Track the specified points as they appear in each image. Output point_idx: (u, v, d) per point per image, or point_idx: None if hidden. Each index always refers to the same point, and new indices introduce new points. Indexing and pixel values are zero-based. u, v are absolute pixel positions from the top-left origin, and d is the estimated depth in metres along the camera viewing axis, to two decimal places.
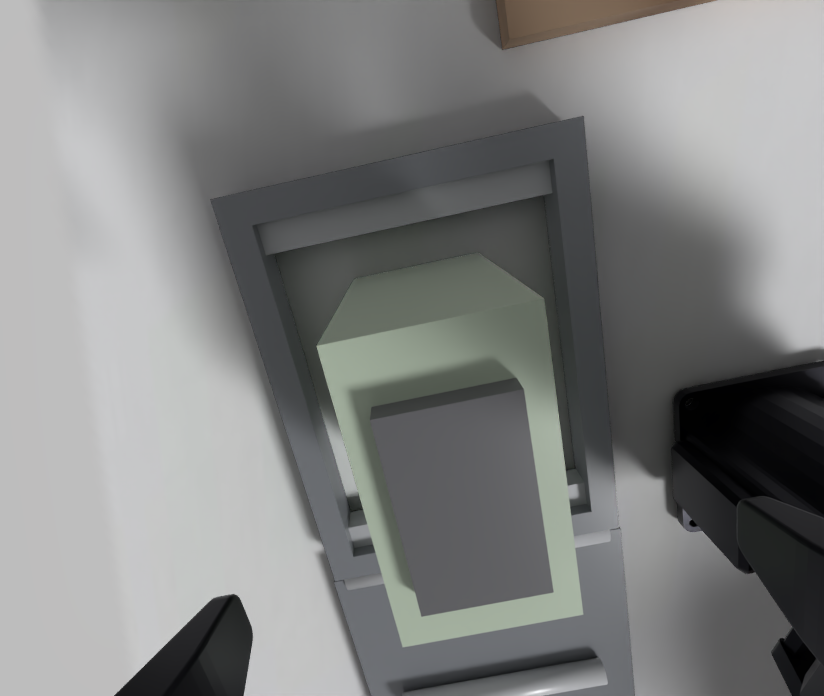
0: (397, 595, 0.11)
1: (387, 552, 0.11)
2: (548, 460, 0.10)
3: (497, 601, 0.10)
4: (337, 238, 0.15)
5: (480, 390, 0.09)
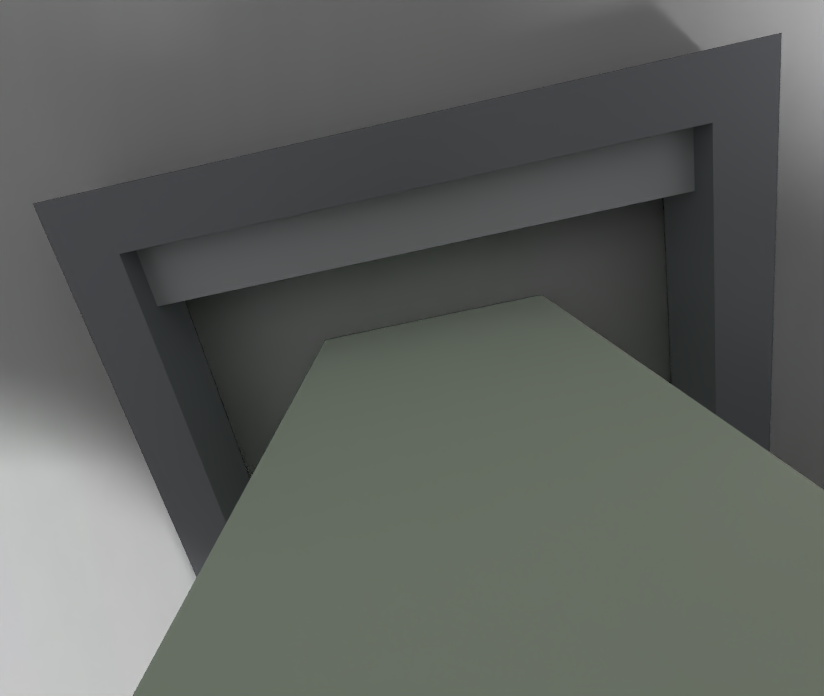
0: None
1: None
2: None
3: None
4: (289, 275, 0.08)
5: None
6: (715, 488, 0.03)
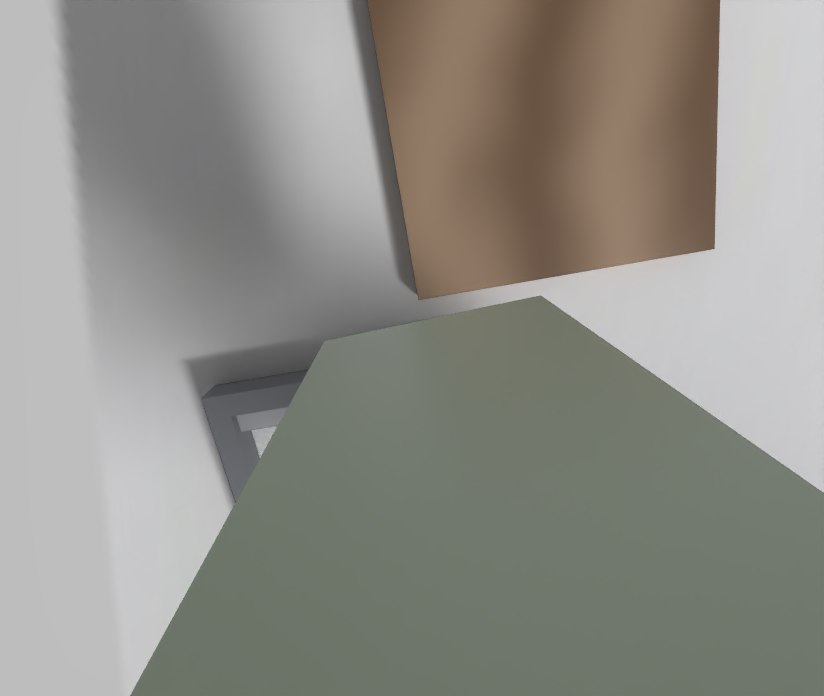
0: None
1: None
2: None
3: None
4: None
5: None
6: (712, 489, 0.03)
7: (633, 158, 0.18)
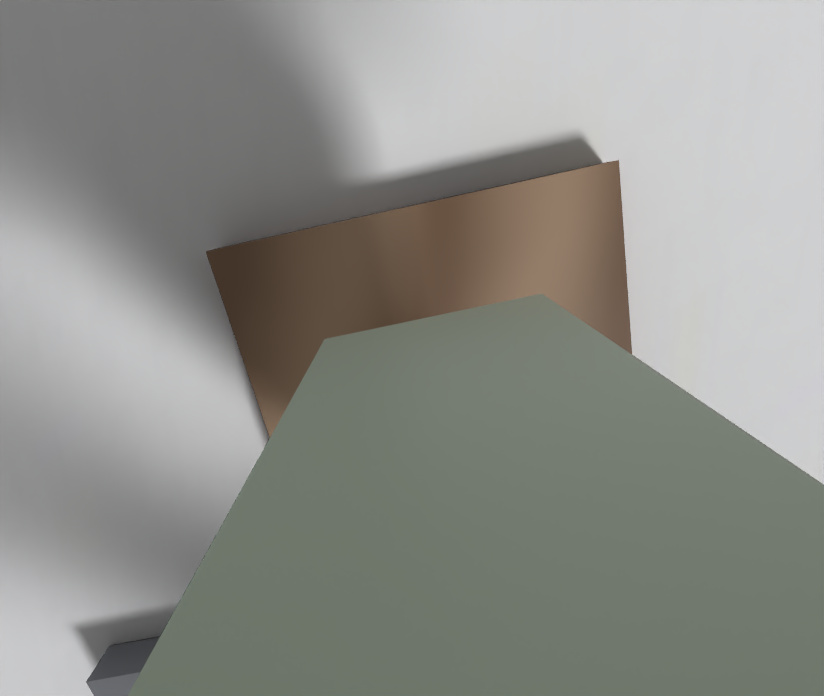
0: None
1: None
2: None
3: None
4: None
5: None
6: (717, 485, 0.03)
7: None
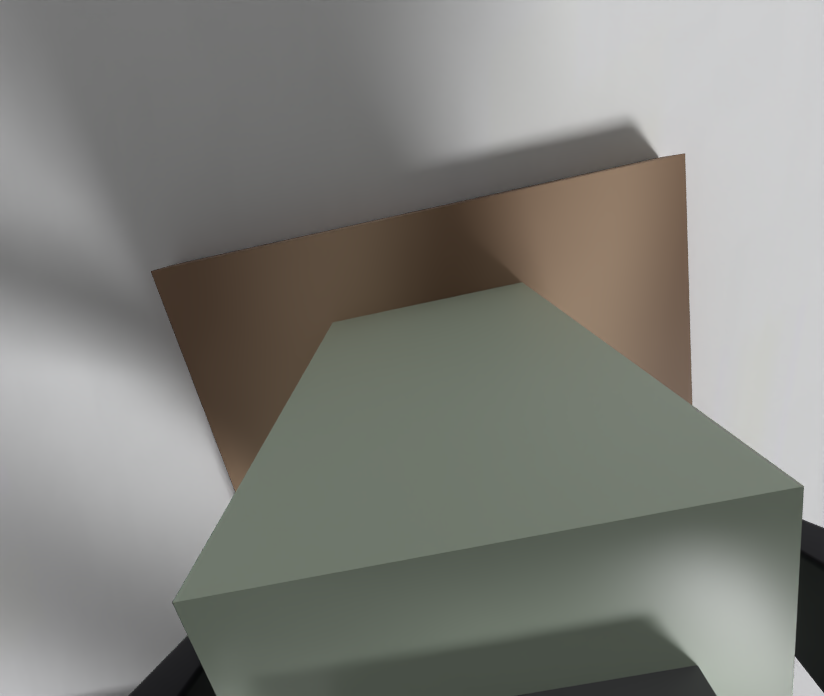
0: None
1: None
2: None
3: None
4: None
5: None
6: (616, 404, 0.05)
7: None
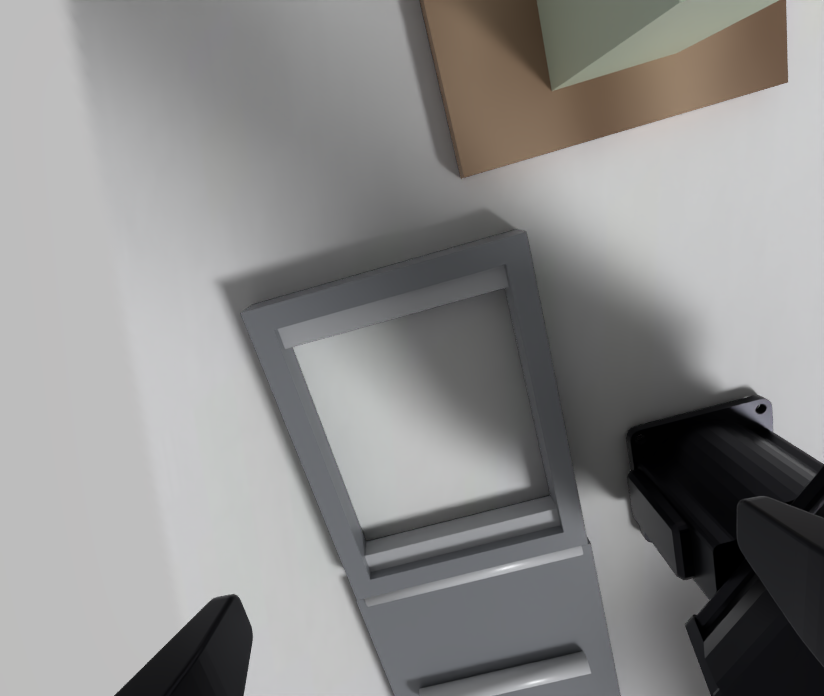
0: None
1: None
2: None
3: None
4: (340, 332, 0.19)
5: None
6: None
7: None
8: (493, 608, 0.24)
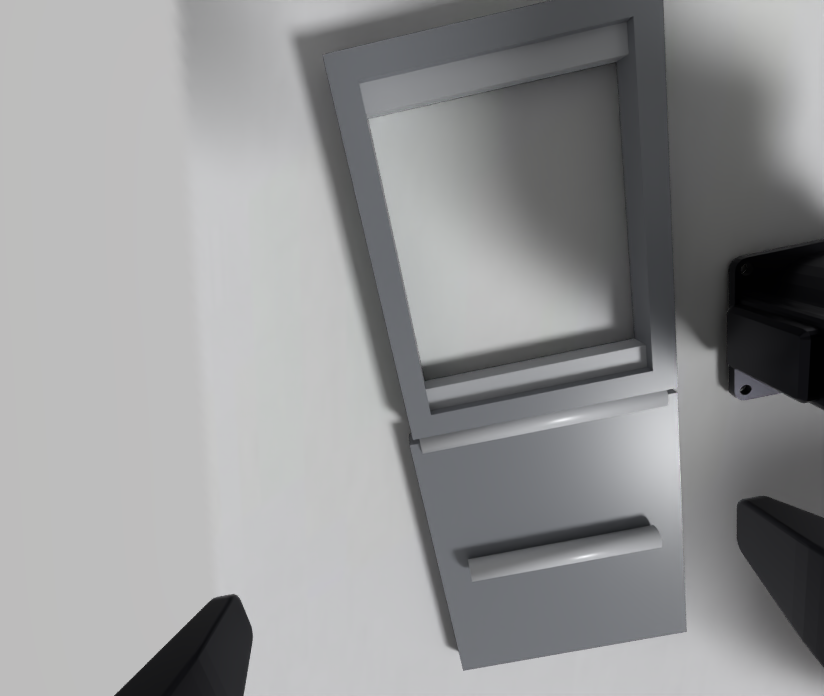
0: None
1: None
2: None
3: None
4: (431, 98, 0.17)
5: None
6: None
7: None
8: (560, 466, 0.22)
